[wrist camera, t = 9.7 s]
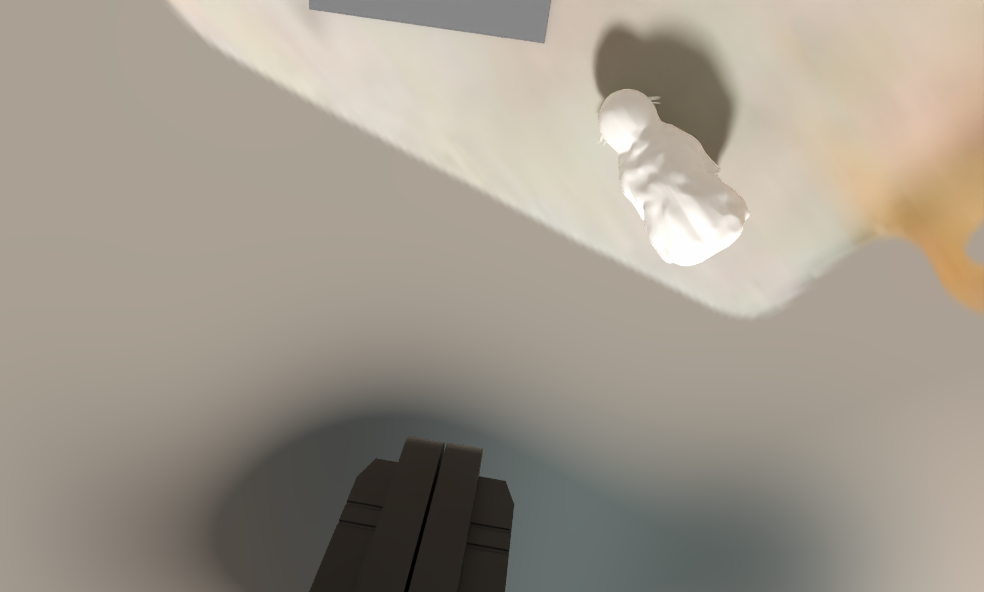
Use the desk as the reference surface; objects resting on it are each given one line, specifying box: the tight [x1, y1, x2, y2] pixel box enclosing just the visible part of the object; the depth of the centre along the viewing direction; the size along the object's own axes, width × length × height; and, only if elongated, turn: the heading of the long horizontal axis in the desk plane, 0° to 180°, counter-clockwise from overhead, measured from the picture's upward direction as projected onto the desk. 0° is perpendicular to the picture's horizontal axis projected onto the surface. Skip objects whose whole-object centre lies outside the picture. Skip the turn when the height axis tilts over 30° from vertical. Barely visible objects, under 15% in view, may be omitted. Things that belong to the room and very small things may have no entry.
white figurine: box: [597, 89, 749, 266], centre depth 40 cm, size 6×8×12 cm
